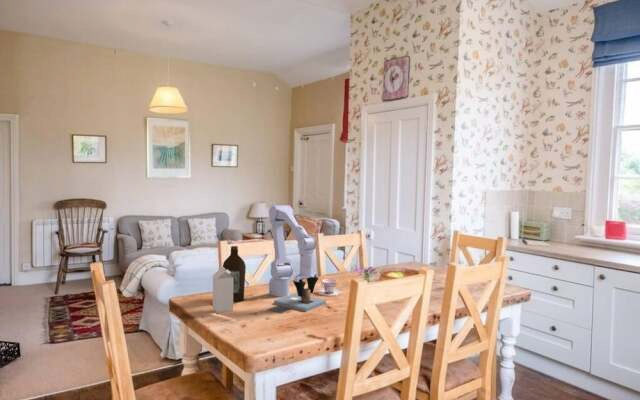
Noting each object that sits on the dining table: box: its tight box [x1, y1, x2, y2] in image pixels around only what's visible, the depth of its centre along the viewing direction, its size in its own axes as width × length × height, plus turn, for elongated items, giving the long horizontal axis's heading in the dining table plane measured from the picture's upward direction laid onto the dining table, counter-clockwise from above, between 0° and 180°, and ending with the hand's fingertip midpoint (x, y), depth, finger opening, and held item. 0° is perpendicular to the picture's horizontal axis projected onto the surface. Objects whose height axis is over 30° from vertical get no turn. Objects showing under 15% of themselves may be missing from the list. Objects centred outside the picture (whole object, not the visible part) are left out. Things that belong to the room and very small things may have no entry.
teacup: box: [316, 278, 342, 297], centre depth 221 cm, size 12×12×6 cm
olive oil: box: [222, 245, 247, 303], centre depth 205 cm, size 11×11×25 cm
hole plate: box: [273, 293, 327, 313], centre depth 198 cm, size 18×15×3 cm
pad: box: [266, 305, 292, 314], centre depth 189 cm, size 8×8×1 cm
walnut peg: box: [301, 287, 311, 304], centre depth 196 cm, size 4×4×8 cm
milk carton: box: [212, 265, 234, 315], centre depth 187 cm, size 7×7×19 cm
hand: (305, 294), depth 196 cm, fingers open, 7 cm apart
